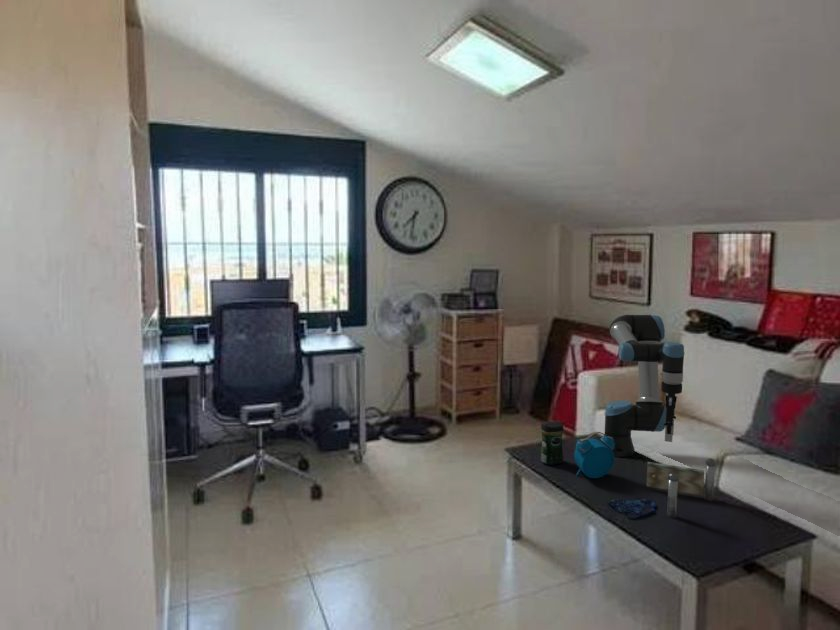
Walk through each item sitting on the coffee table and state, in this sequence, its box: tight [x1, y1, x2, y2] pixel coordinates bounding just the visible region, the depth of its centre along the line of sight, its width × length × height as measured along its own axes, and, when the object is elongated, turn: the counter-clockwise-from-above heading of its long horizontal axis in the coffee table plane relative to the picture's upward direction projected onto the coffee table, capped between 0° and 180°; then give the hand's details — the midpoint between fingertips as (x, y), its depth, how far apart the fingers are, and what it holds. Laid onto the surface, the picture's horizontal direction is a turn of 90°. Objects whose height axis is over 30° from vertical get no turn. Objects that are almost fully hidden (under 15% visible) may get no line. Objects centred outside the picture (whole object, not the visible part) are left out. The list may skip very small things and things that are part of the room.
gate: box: [646, 461, 705, 496], centre depth 222 cm, size 20×3×9 cm, turn 64°
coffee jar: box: [539, 420, 564, 466], centre depth 255 cm, size 10×8×19 cm
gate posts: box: [666, 458, 717, 519], centre depth 211 cm, size 27×3×16 cm, turn 124°
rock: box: [607, 498, 656, 520], centre depth 211 cm, size 15×17×2 cm
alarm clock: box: [573, 431, 615, 479], centre depth 239 cm, size 17×10×20 cm, turn 105°
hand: (669, 437), depth 230 cm, fingers open, 8 cm apart
